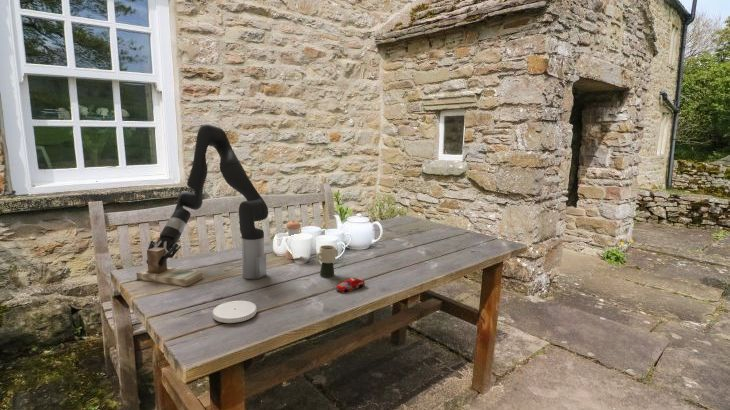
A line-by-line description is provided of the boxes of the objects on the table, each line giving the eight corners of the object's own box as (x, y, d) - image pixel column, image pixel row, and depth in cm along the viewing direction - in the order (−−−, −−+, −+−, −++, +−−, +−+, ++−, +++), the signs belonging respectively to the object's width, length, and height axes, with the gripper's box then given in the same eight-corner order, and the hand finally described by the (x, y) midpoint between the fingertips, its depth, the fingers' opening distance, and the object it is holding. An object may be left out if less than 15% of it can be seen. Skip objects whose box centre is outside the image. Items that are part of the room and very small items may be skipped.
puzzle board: (202, 278, 166) (202, 271, 165) (186, 286, 156) (186, 279, 156) (155, 271, 172) (154, 264, 171) (136, 279, 162) (136, 272, 161)
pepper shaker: (283, 257, 198) (282, 220, 195) (294, 254, 203) (294, 218, 200) (291, 260, 193) (291, 222, 190) (303, 257, 199) (303, 220, 195)
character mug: (332, 270, 180) (332, 243, 178) (341, 275, 175) (342, 247, 173) (312, 275, 173) (312, 247, 171) (321, 280, 168) (321, 251, 166)
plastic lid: (230, 304, 142) (229, 298, 141) (264, 310, 138) (264, 304, 137) (203, 321, 129) (203, 314, 128) (240, 328, 125) (240, 321, 124)
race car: (341, 295, 154) (341, 285, 153) (333, 290, 158) (333, 281, 157) (366, 287, 162) (367, 278, 162) (358, 283, 166) (358, 274, 166)
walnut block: (167, 275, 167) (166, 248, 165) (158, 279, 162) (156, 251, 160) (157, 274, 168) (156, 247, 166) (148, 277, 163) (146, 250, 161)
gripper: (154, 224, 171) (134, 258, 161) (182, 227, 167) (163, 262, 158) (164, 233, 177) (145, 267, 167) (191, 236, 173) (173, 270, 164)
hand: (154, 264), depth 162 cm, fingers closed on walnut block, 5 cm apart
